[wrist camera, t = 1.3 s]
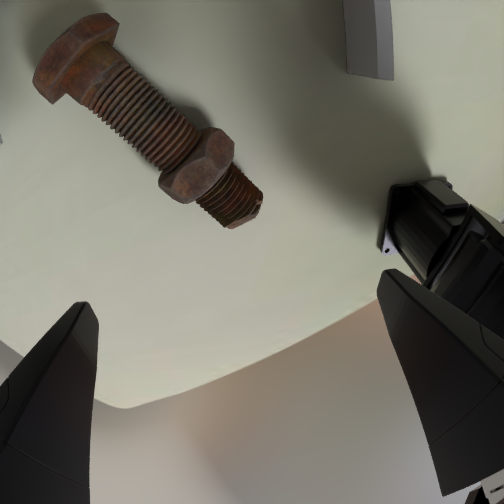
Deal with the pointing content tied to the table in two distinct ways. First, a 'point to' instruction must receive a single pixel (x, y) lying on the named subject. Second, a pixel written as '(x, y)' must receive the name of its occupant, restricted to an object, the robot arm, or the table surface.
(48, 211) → the table surface
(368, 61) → the grey shallow open frame
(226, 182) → the bolt
